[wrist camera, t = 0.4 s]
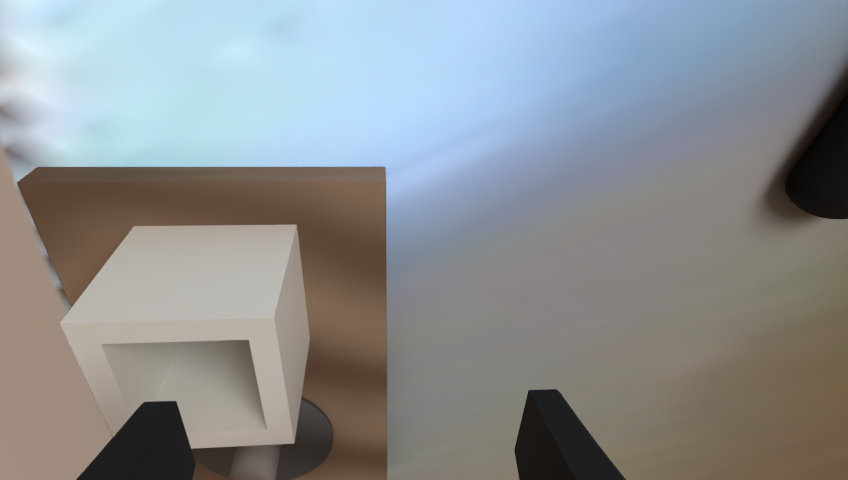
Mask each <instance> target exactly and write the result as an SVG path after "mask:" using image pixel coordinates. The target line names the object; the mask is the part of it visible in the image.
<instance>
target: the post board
mask: <svg viewBox="0 0 848 480" xmlns="http://www.w3.org/2000/svg"><path fill="white" fill-rule="evenodd" d="M17 184H18V186H19V189H20V191H21V193H22V196H23V198H24V200H25V202H26V205H27V207H28V209H29V211H30V214H31V216H32V218H33V221H34V223H35V225H36V227H37V230H38V232H39V234H40V237H41V239H42V241H43V243H44V246H45V248H46V250H47V252H48V255H49V257H50V259H51V262H52V264H53V266H54V268H55V271H56V273H57V275H58V277H59V280H60V282H61V284H62V287H63V289H64V291H65V293H66V296H67V298H68V300H69V302H70V305H71V307H73V305H74V304H75V303H76V301H77V300H78V299H79V297H80V296H81V295H82V294H83V292H84V291H85V290H86V288H87V287H88V286H89V284H90V283H91V282H92V280H93V279H94V278H95V277H96V275H97V274H98V273H99V271H100V270H101V269H102V267H103V266H104V265H105V263H106V262H107V261H108V259H109V258H110V257H111V256H112V254H113V253H114V252H115V250H116V249H117V248H118V246H119V245H120V244H121V242H122V241H123V240H124V239H125V237H126V236H127V235H128V233H129V232H130V231H131V229H132V228H133V227H134V226H206V225H297V230H298V239H299V247H300V256H301V265H302V274H303V282H304V291H305V300H306V309H307V317H308V326H309V335H310V342H309V349H308V355H307V362H306V369H305V376H304V382H303V389H302V396H301V402H300V409H299V416H298V422H297V429H296V436H295V443H294V444H275V445H254V446H234V447H213V448H193V449H191V450H192V453H193V456H194V459H195V462H196V465H195V470H194V474H193V479H192V480H387V352H386V173H385V167H37V168H36V169H34V170H33V171H32V172H30V173H29V174H28V175H26V176H25V177H24V178H22V179H21V180H20V181H19V182H17Z"/></svg>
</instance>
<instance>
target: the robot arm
mask: <svg viewBox="0 0 848 480" xmlns="http://www.w3.org/2000/svg"><path fill="white" fill-rule="evenodd" d="M515 456H516V462H517V468H518V473H519V479H520V480H626V479H625V478H624V477H623V475H622V474H621V473H620V472H619V471H618V469H617V468H616V467H615V466H614V464H613V463H612V462H611V461H610V459H609V458H608V457H607V455H606V454H605V453H604V452H603V450H602V449H601V448H600V446H599V445H598V444H597V442H596V441H595V440H594V438H593V437H592V436H591V434H590V433H589V432H588V431H587V429H586V428H585V426H584V425H583V424H582V422H581V421H580V420H579V418H578V417H577V416H576V414H575V413H574V411H573V410H572V409H571V407H570V406H569V404H568V403H567V402H566V400H565V399H564V398H563V396H562V395H561V393H560V392H559V391H558V390H557V389H551V390H529V391H528V395H527V399H526V404H525V408H524V412H523V416H522V420H521V425H520V429H519V433H518V437H517V441H516V446H515ZM195 465H196V462H195V459H194V456H193V453H192V450H191V446H190V443H189V440H188V437H187V434H186V430H185V427H184V424H183V421H182V418H181V414H180V411H179V408H178V405H177V402H176V401H154V402H144V403H142V404H141V405H140V406H139V407H138V409H137V410H136V411H135V412H134V413H133V414H132V416H131V417H130V418H129V419H128V420H127V422H126V423H125V424H124V425H123V426H122V427H121V429H120V430H119V431H118V432H117V433H116V435H115V436H114V437H113V438H112V439H111V440H110V442H109V443H108V444H107V445H106V446H105V447H104V449H103V450H102V451H101V452H100V453H99V455H98V456H97V457H96V458H95V459H94V460H93V461H92V462H91V464H90V465H89V466H88V467H87V468H86V470H85V471H84V472H83V473H82V474H81V475H80V476H79V477H78V478H77V480H192V479H193V474H194V470H195Z"/></svg>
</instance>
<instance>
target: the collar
mask: <svg viewBox="0 0 848 480" xmlns="http://www.w3.org/2000/svg"><path fill="white" fill-rule="evenodd" d="M60 325H61V327H62V329H63V331H64V333H65V336H66V338H67V340H68V342H69V344H70V346H71V348H72V350H73V353H74V355H75V357H76V359H77V361H78V363H79V366H80V368H81V370H82V372H83V374H84V376H85V378H86V381H87V383H88V385H89V387H90V389H91V391H92V393H93V395H94V398H95V400H96V402H97V404H98V406H99V408H100V410H101V413H102V415H103V417H104V419H105V421H106V423H107V426H108V428H109V430H110V432H111V434H112V436H113V437H114V436H115V435H116V433H117V432H118V431H119V430H120V429H121V427H122V426H123V425H124V424H125V423H126V422H127V420H128V419H129V418H130V417H131V416H132V414H133V413H134V412H135V411H136V410H137V409H138V407H139V406H140V405H141V404H142V403H144V402H154V401H176V402H177V405H178V408H179V411H180V414H181V418H182V421H183V424H184V427H185V430H186V434H187V437H188V440H189V443H190V446H191V449H193V448H213V447H234V446H254V445H275V444H294V443H295V436H296V429H297V422H298V416H299V409H300V402H301V396H302V389H303V382H304V376H305V369H306V362H307V355H308V349H309V342H310V335H309V326H308V317H307V309H306V300H305V291H304V282H303V274H302V265H301V256H300V247H299V239H298V230H297V225H206V226H134V227H133V228H132V229H131V231H130V232H129V233H128V235H127V236H126V237H125V239H124V240H123V241H122V242H121V244H120V245H119V246H118V248H117V249H116V250H115V252H114V253H113V254H112V256H111V257H110V258H109V259H108V261H107V262H106V263H105V265H104V266H103V267H102V269H101V270H100V271H99V273H98V274H97V275H96V277H95V278H94V279H93V280H92V282H91V283H90V284H89V286H88V287H87V288H86V290H85V291H84V292H83V294H82V295H81V296H80V297H79V299H78V300H77V301H76V303H75V304H74V305H73V307H72V308H71V309H70V311H69V312H68V313H67V314H66V316H65V317H64V318H63V320H62V321H61V322H60Z"/></svg>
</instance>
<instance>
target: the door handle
mask: <svg viewBox="0 0 848 480" xmlns="http://www.w3.org/2000/svg"><path fill="white" fill-rule="evenodd" d="M786 191H787V194H788V196H789V198H790V199H791V201H792V202H793V203H794V204H795V205H796V206H798V207H799V208H800V209H802V210H804V211H805V212H807V213H810V214H812V215H815V216H818V217H822V218H828V219H848V96H847V97H846V98H845V100H844V101H843V102H842V104H841V105H840V107H839V108H838V109H837V111H836V112H835V113H834V115H833V116H832V117H831V119H830V120H829V121H828V123H827V124H826V125H825V127H824V128H823V129H822V131H821V132H820V133H819V135H818V136H817V137H816V139H815V140H814V141H813V143H812V144H811V145H810V147H809V148H808V150H807V151H806V152H805V154H804V155H803V156H802V158H801V159H800V160H799V162H798V163H797V164H796V166H795V167H794V168H793V170H792V171H791V172H790V174H789V175H788V177H787V180H786Z"/></svg>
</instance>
